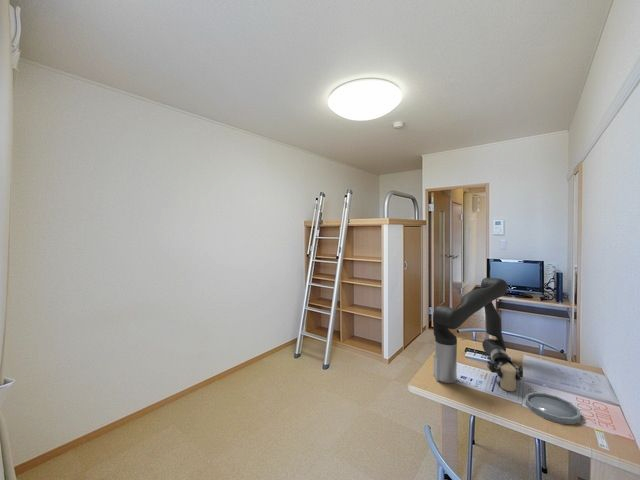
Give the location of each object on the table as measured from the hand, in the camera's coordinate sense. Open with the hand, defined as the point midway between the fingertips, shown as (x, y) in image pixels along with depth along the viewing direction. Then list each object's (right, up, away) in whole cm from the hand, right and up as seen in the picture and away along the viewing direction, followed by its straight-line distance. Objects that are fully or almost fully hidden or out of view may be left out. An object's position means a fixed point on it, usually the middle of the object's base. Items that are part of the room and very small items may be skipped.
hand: (509, 377), depth 120 cm
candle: (+1, -6, +3) cm, 7 cm away
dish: (+8, -7, -11) cm, 16 cm away
